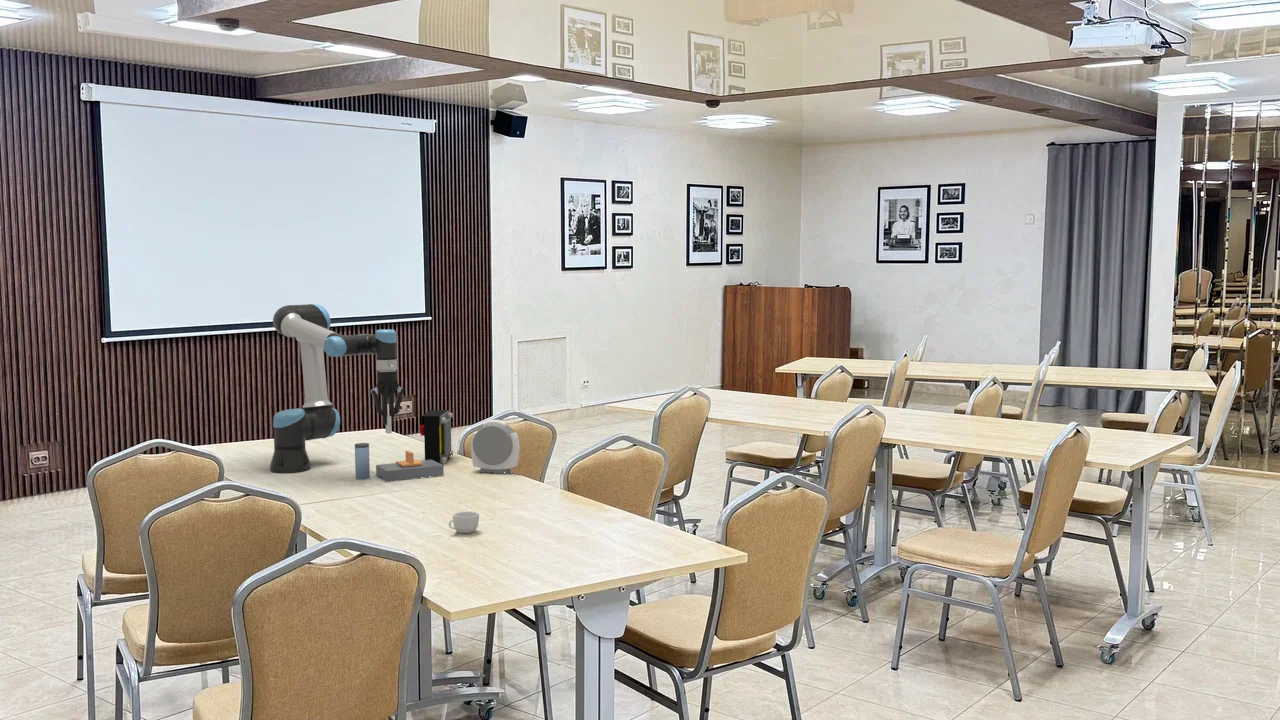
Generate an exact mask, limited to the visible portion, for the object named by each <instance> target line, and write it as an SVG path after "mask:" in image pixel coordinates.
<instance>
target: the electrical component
mask: <svg viewBox="0 0 1280 720" xmlns="http://www.w3.org/2000/svg"><path fill="white" fill-rule="evenodd" d="M453 417H454V414H453V413H452V412H450V410H448V409H430V410H428V411H427V412H426V413H424V414H422V415H421V416H420V421H421V425H419V432H420V436H422V437H424V441H423V442H424V460H433V461H435V462H438V463H440V464H442V463H443V462H444V463H447V460H449V459H448V457H450V458H451V457H453V456H454V451H453V450H452V420H451V419H453ZM450 452H451V453H450ZM451 455H452V456H451ZM444 463H443V464H444ZM443 464H442V465H443Z"/></svg>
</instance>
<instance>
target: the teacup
mask: <svg viewBox="0 0 1280 720" xmlns="http://www.w3.org/2000/svg"><path fill="white" fill-rule="evenodd" d="M479 519H480V513H479V512H477V511H472V510H471V511H468V510H467V511H458V512H455V513H452V519H450V521H449V522H448V527H449V528H450V529H452V530H455V531H456V532H458V533H459V534H463V533H468V534H472V533H474V532H475V531H476V530H477V529H478V528H479ZM451 523H452V524H453V526H452V525H451ZM471 532H472V533H471Z"/></svg>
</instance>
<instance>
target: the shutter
mask: <svg viewBox="0 0 1280 720" xmlns="http://www.w3.org/2000/svg"><path fill="white" fill-rule="evenodd" d="M404 452H405V460H400V461H396V462H395V463H396V464H398V465H400V466H402V467H408V466H419V465H423V463H422V462H420V461H421V460H419V459H415V458H414V452H413V451H410V450H405V451H404Z"/></svg>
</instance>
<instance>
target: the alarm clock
mask: <svg viewBox="0 0 1280 720" xmlns="http://www.w3.org/2000/svg"><path fill="white" fill-rule="evenodd" d="M520 447H521V446H520V437H519V435H518V433H517V432H515V431H514V429H513V428H512V427H511V426H510V425H508V424H507V422H505V421H503V420H501V419H490V420H488V421H485V422H484V423H483V424H482V427H481V428H479V429H478V430H477V431H475V432H473V434H472V436H471V439H470V454H471V455H470V456H471V461H472V467H474V468H479V469H480V471H479V472H493V473H492V474H501V473H504V472H505V474H506V475H507V474H509V473H510V472H511V469H513V468H515V467H517V466H518V464H519V459H520Z"/></svg>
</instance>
